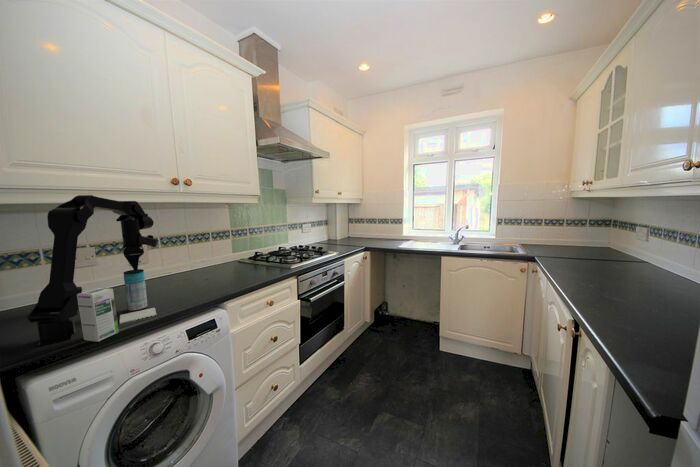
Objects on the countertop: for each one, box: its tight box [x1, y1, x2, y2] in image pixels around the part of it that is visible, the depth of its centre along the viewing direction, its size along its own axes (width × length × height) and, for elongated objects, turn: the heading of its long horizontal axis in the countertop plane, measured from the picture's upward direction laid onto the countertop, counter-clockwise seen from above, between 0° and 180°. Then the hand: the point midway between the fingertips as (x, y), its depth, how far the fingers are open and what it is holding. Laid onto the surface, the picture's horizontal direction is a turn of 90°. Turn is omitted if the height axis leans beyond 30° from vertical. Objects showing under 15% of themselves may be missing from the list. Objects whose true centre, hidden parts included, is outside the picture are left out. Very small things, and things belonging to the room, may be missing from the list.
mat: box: [119, 307, 158, 325], centre depth 93 cm, size 10×8×1 cm
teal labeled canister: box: [123, 268, 148, 313], centre depth 98 cm, size 6×6×15 cm
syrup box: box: [77, 287, 120, 343], centre depth 78 cm, size 6×6×14 cm
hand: (135, 267), depth 110 cm, fingers open, 9 cm apart
